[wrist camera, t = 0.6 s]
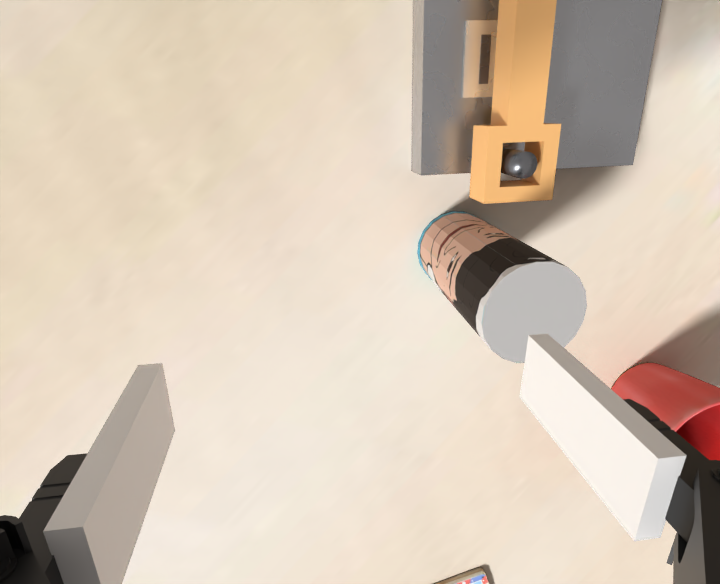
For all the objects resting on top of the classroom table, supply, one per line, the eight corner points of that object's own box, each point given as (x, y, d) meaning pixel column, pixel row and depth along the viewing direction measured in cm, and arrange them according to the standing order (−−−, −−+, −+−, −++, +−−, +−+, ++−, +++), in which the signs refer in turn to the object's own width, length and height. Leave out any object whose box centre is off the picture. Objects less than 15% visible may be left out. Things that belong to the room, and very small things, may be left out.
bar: (533, 193, 36) (569, 205, 32) (469, 197, 36) (496, 209, 31) (573, -190, 28) (630, -249, 23) (491, -194, 27) (532, -256, 23)
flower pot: (582, 377, 50) (647, 436, 41) (676, 332, 49) (763, 381, 40) (603, 447, 54) (667, 514, 45) (691, 406, 53) (773, 465, 44)
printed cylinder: (489, 206, 41) (591, 253, 27) (489, 277, 44) (582, 354, 30) (415, 216, 41) (481, 270, 27) (419, 288, 43) (481, 371, 29)
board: (414, -130, 32) (453, -203, 24) (655, -122, 34) (757, -187, 27) (411, 170, 39) (440, 184, 32) (609, 161, 41) (679, 172, 34)
